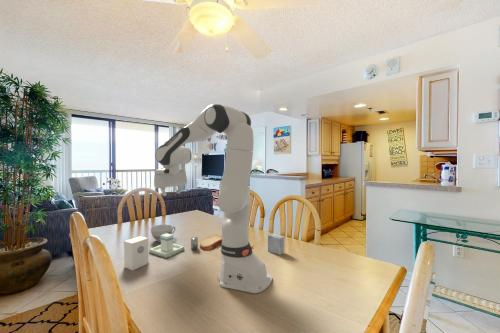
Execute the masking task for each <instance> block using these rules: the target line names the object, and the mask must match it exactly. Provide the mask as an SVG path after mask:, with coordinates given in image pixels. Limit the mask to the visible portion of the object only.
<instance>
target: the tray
mask: <svg viewBox="0 0 500 333" xmlns="http://www.w3.org/2000/svg"><path fill="white" fill-rule="evenodd" d="M183 251H185V246H184V245H180V244H177V243H173V250H171V251H169V252H165V251H161V244H159V245H157V246H154V247H151V248H148V254H151V255H155V256H157V257H161V258H164V259H168V258H170V257H172V256H174V255H176V254H177V255H178V254H179V253H182V252H183Z"/></svg>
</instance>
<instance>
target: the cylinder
mask: <svg viewBox="0 0 500 333" xmlns="http://www.w3.org/2000/svg"><path fill="white" fill-rule="evenodd" d="M198 242H199V241H198V237H197V236H193V237H191V238H190V250H191V251H197V250H199V248H198V247H199V243H198Z"/></svg>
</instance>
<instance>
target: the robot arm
mask: <svg viewBox="0 0 500 333" xmlns="http://www.w3.org/2000/svg"><path fill="white" fill-rule="evenodd" d="M216 133H218V134H222V133H224V134H225V135H226V136H225V137H226V138H227V140H226V141H227V142H226V146H225V147H226V149H225V156H224V157H225V159H224V167H223V168H224V169H223V174H222V177H221V183H220V188H219V194H218V197H217V203H218V204H217V205H218V207H219V209H220V210H221V211H222V212H223V218H222V223H221V224H222V225H221V236H222V243H221V244H220V253H221V259H220V260H221V262H220V267H219V268H220V269H219V273H218V276H217V277H218V278H217V279H218V280H219V286H220V287H222V288H226V289H231V290H236V291H240V292H241V291H242V292H245V293H250V294H259V293H261V292H263V291H265V290H266V289H267V288H268V287H269V286H270V285H271V283H272V282H273V277H272V275H271V274H269V273H267V266H266V264H265V263H264V262H263V261H262V260H261V259H260V258H259V257H258V256H257V254H255V253H254V252H253V249H255V245H252V246H251V243H250V242H249V241H250V240H249V230H250V229H249V228H250V226H249V225H250V206H251V192H250V188H249V185H250V178H251V175H252V166H253V156H254V131H253V128H252V119H251V117H250V116H249V115H248V114H247V113H246V112H244V111H240V110H238V109H235V108H234V107H232V106H226V105H222V104H217V103H212V104H210V105H208V106H206V108H204V109H203V110H202V111H201V112H200V113H199V114H198V115H197V116H196V118H194V120H193V121H191V122H190V123H188V124H187V125H185V126H184V127H182V128H180V129H179V130H177V132H175V133H174V134H173V136H171V137H170V138H169V139H168V140H166V141H164V143H163V144H161V145H160V146H159V147H158V148H157V149H156V151H155V153H154V154H155V156H154V157H155V160H156V161H157V162H158V163H159V164H160V166H162V167H159V168H157V169H155V170H154V173H155V175H154V180H153V183H154V184H153V186H154V188H155V189H160V191H161V193H162V196H163V197H166V196H167V195H168V192H167V191H166V188H172V187H177V189H176V191H175V192H176V193H175V194H181V190H182V188H183V186H186V185H187V184H188V178H187V177H188V176H187V174H186V173H187V172H186V170H185V169H181V166H180V165H187V164H189V163H190V161H191V159H192V151H191V149H190V148H189V147H188V146H184V145H185V144H189V143H195V142H204V141H205V142H206V141H208V139H210V138H212V137H213V136H214V135H215V134H216Z"/></svg>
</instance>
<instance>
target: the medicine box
mask: <svg viewBox="0 0 500 333" xmlns="http://www.w3.org/2000/svg"><path fill="white" fill-rule="evenodd" d="M267 252H270V253H273V254H275V255H278V256H280V255H283V254H284V253H285V236H282V235H279V234H275V233H271V234H268V235H267Z"/></svg>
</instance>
